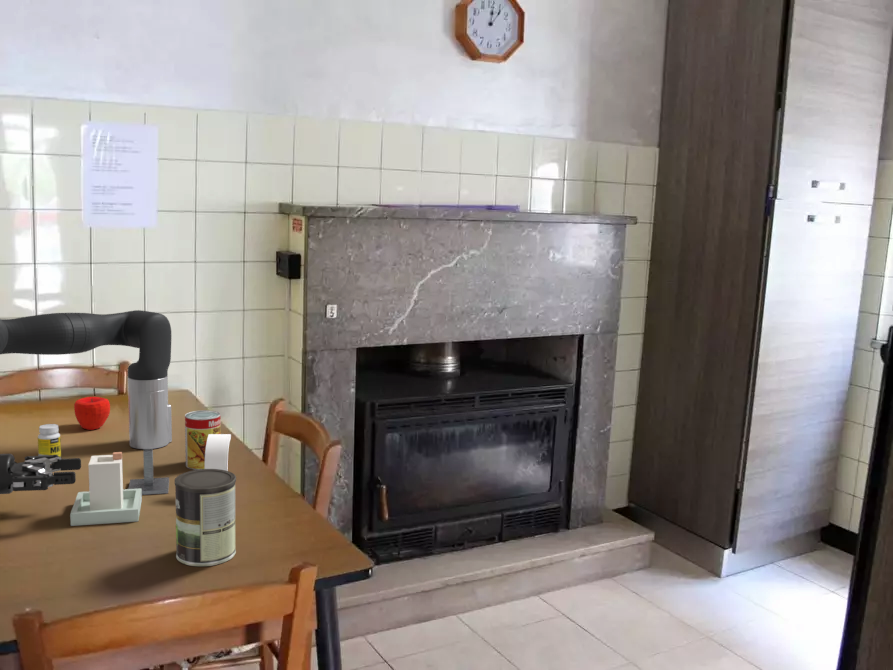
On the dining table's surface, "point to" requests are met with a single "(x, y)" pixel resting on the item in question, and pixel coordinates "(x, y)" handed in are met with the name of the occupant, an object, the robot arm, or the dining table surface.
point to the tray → (87, 517)
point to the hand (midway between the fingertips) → (78, 470)
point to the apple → (92, 412)
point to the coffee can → (205, 517)
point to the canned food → (199, 435)
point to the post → (150, 478)
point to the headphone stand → (217, 451)
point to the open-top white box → (106, 482)
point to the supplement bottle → (49, 440)
